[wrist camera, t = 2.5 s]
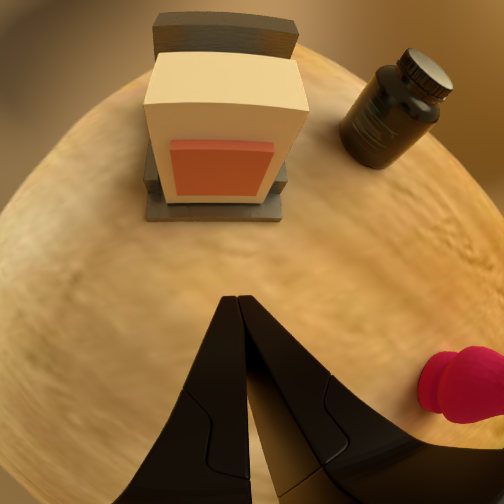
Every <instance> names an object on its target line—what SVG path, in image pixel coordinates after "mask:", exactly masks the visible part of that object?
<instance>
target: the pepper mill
mask: <svg viewBox="0 0 504 504" xmlns="http://www.w3.org/2000/svg"><path fill="white" fill-rule="evenodd" d="M418 399H419V402H420V404H421V406H422V407H423V408H424V409H425V410H427V411H430V412H434V413H439V414H441V413H443V415H444V417H445V418H446V419H447V420H448V421H450V422H453V423H459V424H467V423H475V422H478V421H481V420H484V419H487V418H491V417H494V416H498V415H504V356H502V355H501V354H499V353H497V352H496V351H494V350H492V349H489V348H486V347H479V346H471V347H467V348H465V349H463V350H462V351H460V352H459V353H457V352H447V351H444V352H439V353H437V354H435V355H434V356H433V357H432V358H431V359H430V360H429V361H428V363H427V364H426V366H425V368H424V370H423V372H422V374H421V377H420V381H419V386H418Z"/></svg>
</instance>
